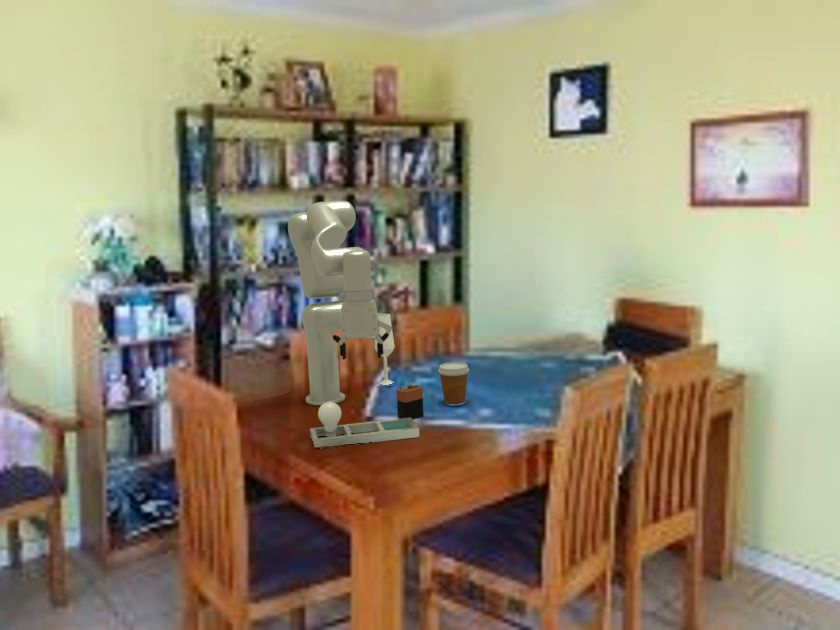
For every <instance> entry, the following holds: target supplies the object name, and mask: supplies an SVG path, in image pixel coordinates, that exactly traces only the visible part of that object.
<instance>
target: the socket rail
mask: <svg viewBox="0 0 840 630" xmlns="http://www.w3.org/2000/svg"><path fill="white" fill-rule="evenodd" d="M309 431H310V440H311V439H312V440H311V442H312V441H313V443H312V445H313V444H314V446H313V448H314V447H321V446H334V445H344V444H355V445H357V444H356V443H364V444H370V443H369V442H372V443H379V442H388V441H397V440H406V439H412V438H413V439H414V438H420V427H419V425H417V423H416V422H415V421H414V419H412V418H411V417H409V418H394V419H385V420H376V421H366V422H365V421H364V422H358V423H357V422H356V423H348V424H339V425H338V424H337V428H336V435H337V436H334V437H319V438H318V436H326V430H325V428H324V426H320V427H311V428H309ZM351 433H354V434H351ZM341 434H344V435H341Z"/></svg>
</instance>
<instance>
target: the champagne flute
mask: <svg viewBox="0 0 840 630" xmlns="http://www.w3.org/2000/svg"><path fill="white" fill-rule="evenodd" d="M378 320H379V321H381V322H383V323H386V324H388V325H390V326H392V319H391V314H390V313H378ZM392 327H393V326H392ZM385 332H386V329H384V328H382V327H380V326H379V334H380V335H381V336H383V335H384V334H385ZM394 341H395V340H394V333H393V329H392V330H391V332H390V334H389V336H388V338H387V339H386V340H385V341H384V342H383V354H381V357H383V374H384V379H383V380H381V381H379V382H378V383H379V384H382V385H389V384H392V383H393V382H394V381H392V380H390V379H389V373H388V371H389V370H388V357H389V356H390V354H392V353H393V351H394V350H395V342H394ZM377 343H378V341H377V340H376V339H375V338H374V350H375V351H376V352H377Z"/></svg>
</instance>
